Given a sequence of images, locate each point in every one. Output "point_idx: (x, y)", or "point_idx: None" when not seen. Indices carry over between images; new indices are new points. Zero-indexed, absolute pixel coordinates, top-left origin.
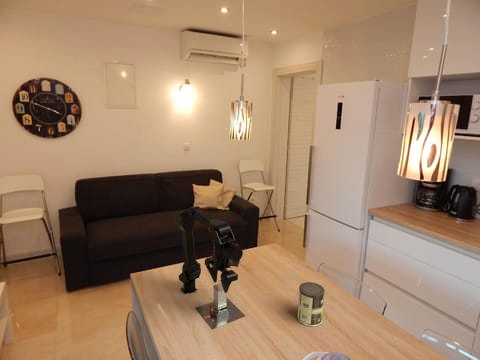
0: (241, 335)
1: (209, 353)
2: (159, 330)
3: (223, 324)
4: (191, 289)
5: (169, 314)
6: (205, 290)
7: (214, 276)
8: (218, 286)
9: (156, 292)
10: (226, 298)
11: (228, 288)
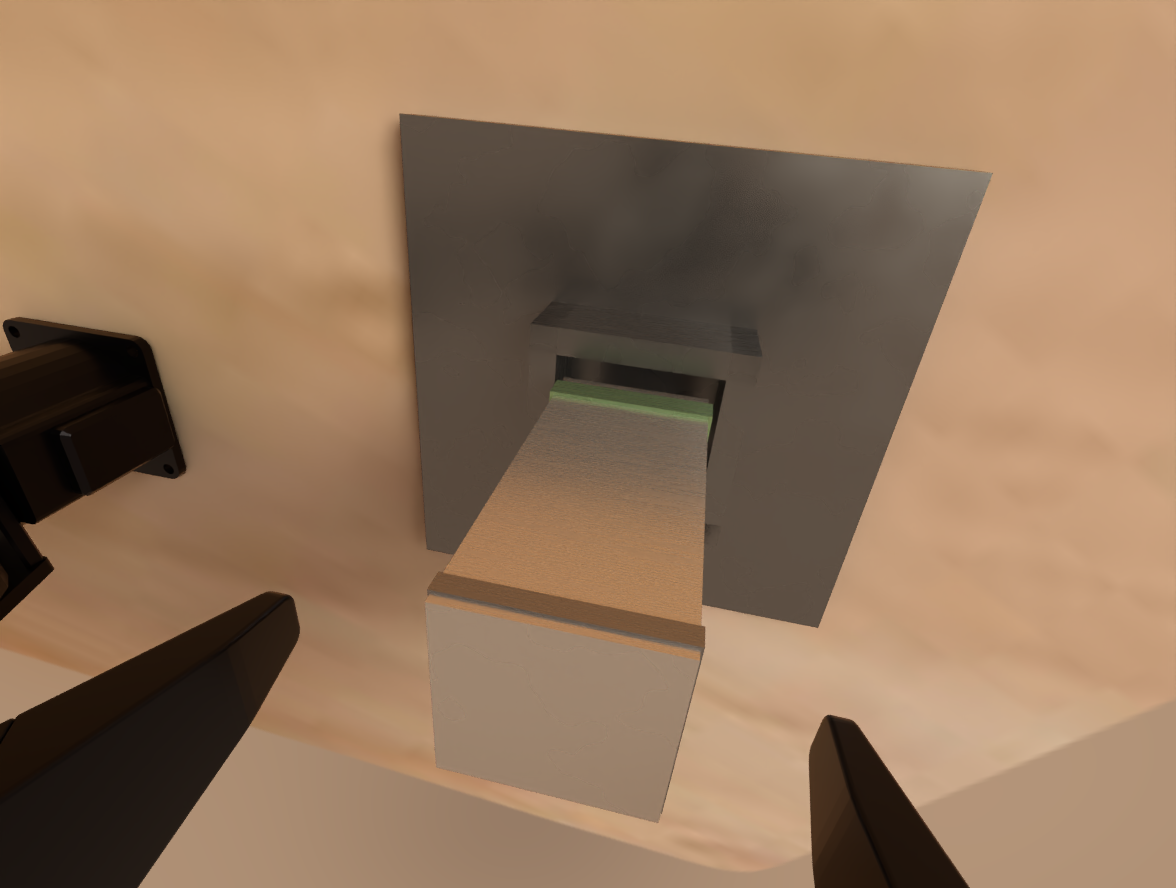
0: (1147, 447)
1: (1003, 753)
2: (526, 790)
3: (852, 511)
4: (129, 454)
5: (395, 681)
6: (137, 247)
7: (158, 777)
8: (528, 736)
9: (83, 603)
10: (430, 141)
11: (948, 866)
